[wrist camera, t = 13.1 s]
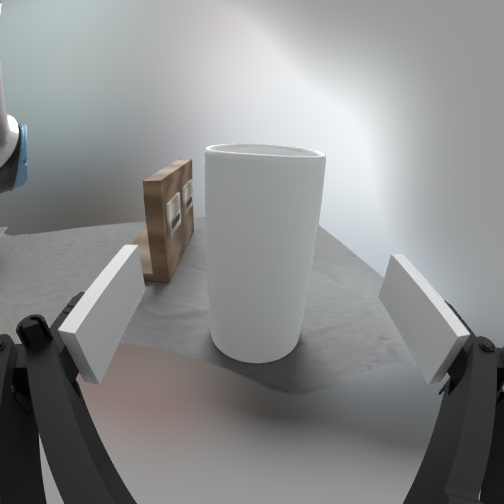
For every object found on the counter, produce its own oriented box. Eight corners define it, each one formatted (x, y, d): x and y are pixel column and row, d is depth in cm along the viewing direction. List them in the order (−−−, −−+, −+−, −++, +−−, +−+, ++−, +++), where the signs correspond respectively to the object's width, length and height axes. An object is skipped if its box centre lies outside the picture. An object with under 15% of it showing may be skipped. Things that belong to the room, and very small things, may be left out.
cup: (317, 334, 25) (348, 156, 18) (249, 379, 20) (261, 158, 13) (259, 295, 30) (268, 142, 23) (194, 324, 26) (183, 146, 18)
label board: (172, 282, 32) (164, 180, 26) (110, 277, 32) (94, 183, 26) (195, 230, 46) (194, 158, 41) (149, 229, 46) (144, 160, 41)
